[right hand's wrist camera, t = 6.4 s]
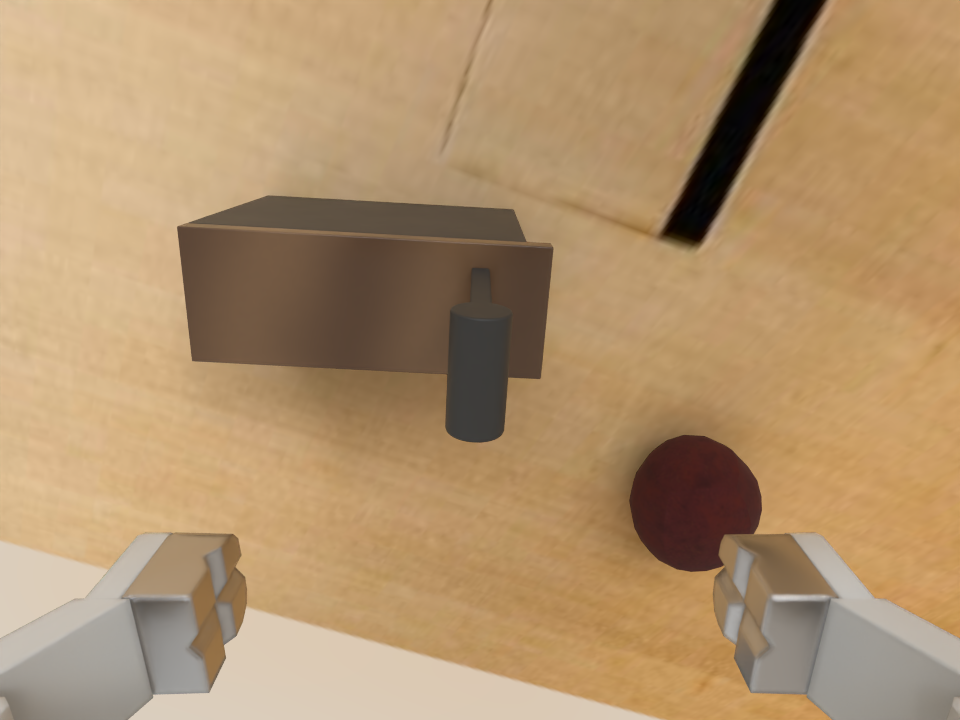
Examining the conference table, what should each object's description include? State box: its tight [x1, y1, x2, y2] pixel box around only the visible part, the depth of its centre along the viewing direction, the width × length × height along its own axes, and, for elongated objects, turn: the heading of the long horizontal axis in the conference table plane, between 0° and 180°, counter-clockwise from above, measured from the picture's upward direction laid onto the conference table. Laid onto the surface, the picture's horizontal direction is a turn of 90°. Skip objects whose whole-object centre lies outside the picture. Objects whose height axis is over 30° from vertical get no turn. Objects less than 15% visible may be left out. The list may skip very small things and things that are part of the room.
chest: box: [189, 196, 526, 242], centre depth 31 cm, size 13×6×10 cm, turn 87°
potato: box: [629, 435, 762, 572], centre depth 37 cm, size 7×8×7 cm
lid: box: [177, 223, 553, 442], centre depth 22 cm, size 14×6×8 cm, turn 87°
